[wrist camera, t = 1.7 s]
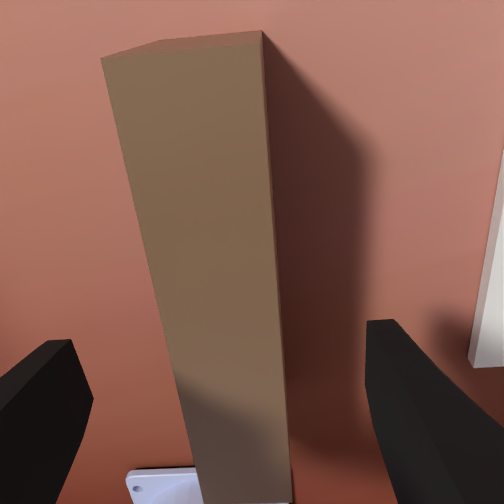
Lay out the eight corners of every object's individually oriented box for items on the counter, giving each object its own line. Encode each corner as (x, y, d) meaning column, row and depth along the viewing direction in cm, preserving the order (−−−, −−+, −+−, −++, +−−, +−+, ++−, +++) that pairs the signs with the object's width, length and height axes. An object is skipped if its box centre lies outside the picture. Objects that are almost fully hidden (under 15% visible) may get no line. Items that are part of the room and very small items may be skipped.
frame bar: (286, 381, 20) (292, 502, 15) (218, 384, 20) (203, 504, 15) (261, 30, 13) (259, 42, 8) (160, 39, 13) (100, 57, 8)
